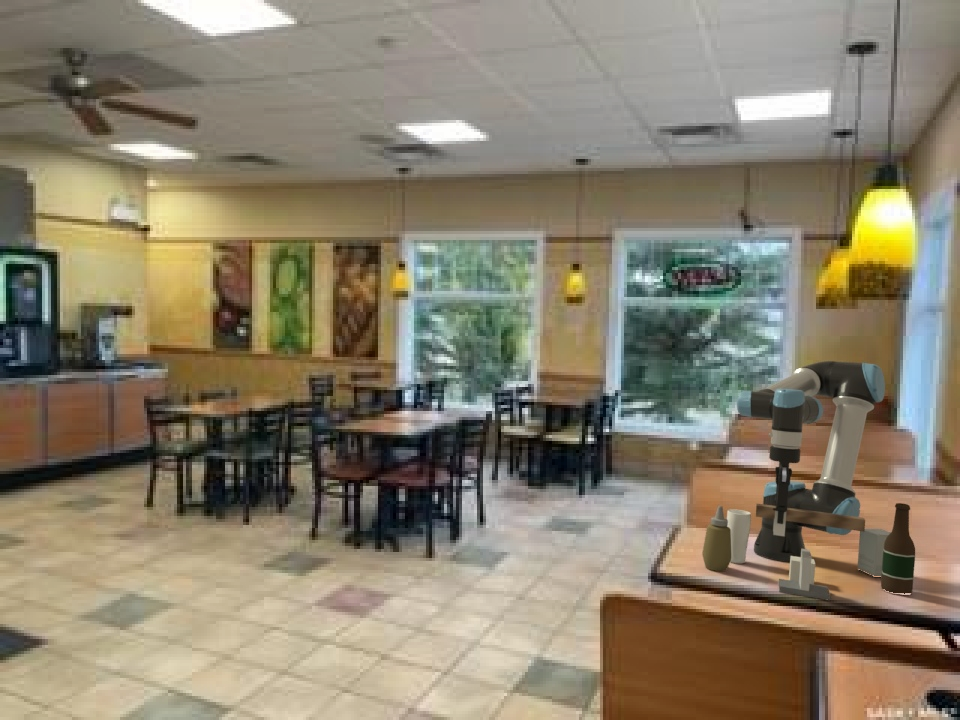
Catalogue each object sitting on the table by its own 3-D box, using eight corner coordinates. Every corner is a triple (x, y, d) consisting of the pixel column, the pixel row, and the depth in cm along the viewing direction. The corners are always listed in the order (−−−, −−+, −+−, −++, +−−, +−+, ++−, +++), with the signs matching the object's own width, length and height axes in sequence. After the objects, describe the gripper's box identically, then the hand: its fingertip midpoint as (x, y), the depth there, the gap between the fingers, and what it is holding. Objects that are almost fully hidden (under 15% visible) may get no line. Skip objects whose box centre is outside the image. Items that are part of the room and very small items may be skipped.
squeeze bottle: (726, 565, 209) (731, 504, 208) (733, 574, 201) (738, 510, 200) (698, 563, 209) (702, 502, 209) (704, 571, 201) (709, 508, 201)
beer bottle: (874, 585, 199) (880, 500, 198) (902, 587, 198) (909, 501, 198) (889, 595, 191) (896, 506, 190) (918, 597, 191) (925, 508, 190)
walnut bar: (755, 516, 192) (756, 505, 192) (755, 514, 194) (756, 503, 194) (864, 531, 182) (865, 520, 182) (862, 529, 185) (863, 517, 185)
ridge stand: (779, 591, 188) (782, 552, 188) (778, 584, 194) (781, 545, 194) (829, 600, 184) (832, 559, 183) (827, 592, 190) (830, 552, 190)
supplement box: (896, 578, 207) (899, 535, 207) (873, 578, 206) (876, 534, 205) (878, 570, 214) (881, 528, 214) (856, 569, 213) (859, 527, 213)
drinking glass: (723, 562, 211) (727, 512, 211) (723, 556, 218) (727, 508, 217) (747, 566, 209) (751, 515, 209) (747, 560, 215) (751, 511, 215)
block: (789, 581, 197) (791, 560, 197) (788, 576, 202) (790, 555, 202) (813, 585, 195) (815, 564, 195) (812, 580, 200) (813, 559, 199)
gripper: (769, 441, 199) (763, 525, 200) (770, 448, 184) (764, 538, 185) (798, 444, 197) (792, 529, 197) (802, 451, 182) (795, 543, 182)
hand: (778, 533), depth 191 cm, fingers closed on walnut bar, 3 cm apart
